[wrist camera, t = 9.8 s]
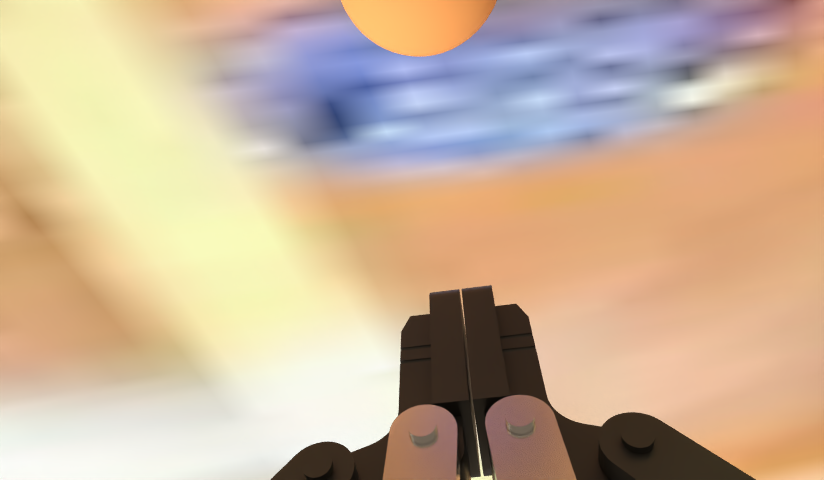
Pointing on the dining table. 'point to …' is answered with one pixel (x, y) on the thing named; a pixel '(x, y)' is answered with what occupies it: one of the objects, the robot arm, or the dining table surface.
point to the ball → (418, 23)
